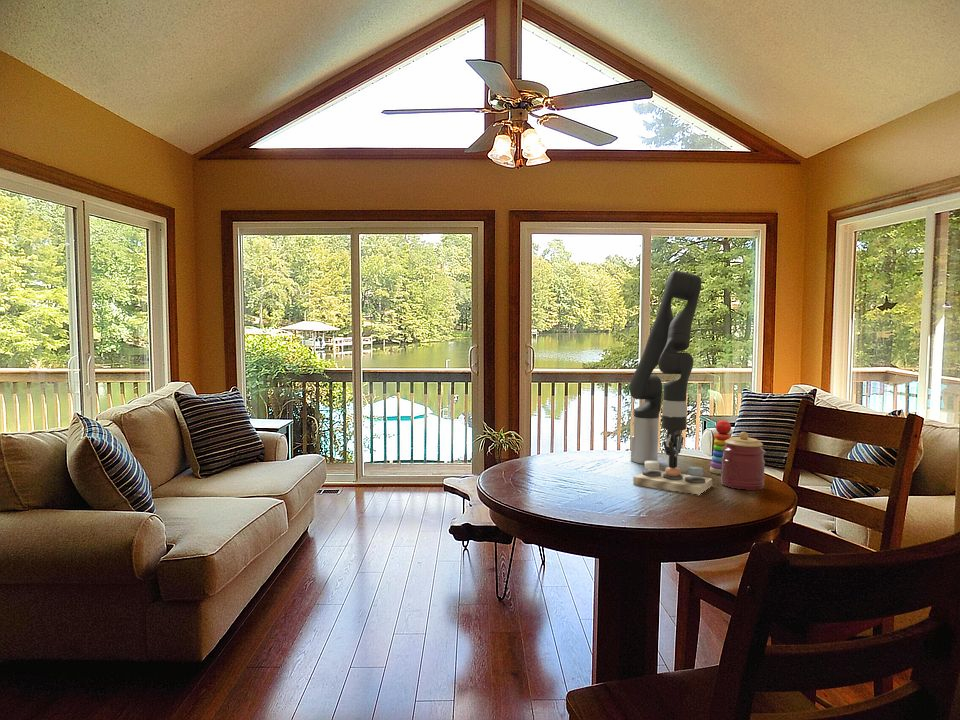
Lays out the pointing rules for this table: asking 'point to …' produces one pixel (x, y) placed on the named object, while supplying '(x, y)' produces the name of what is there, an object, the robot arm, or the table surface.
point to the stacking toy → (719, 445)
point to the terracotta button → (673, 471)
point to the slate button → (695, 471)
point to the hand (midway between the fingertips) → (672, 467)
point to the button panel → (672, 482)
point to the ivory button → (652, 465)
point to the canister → (743, 463)
